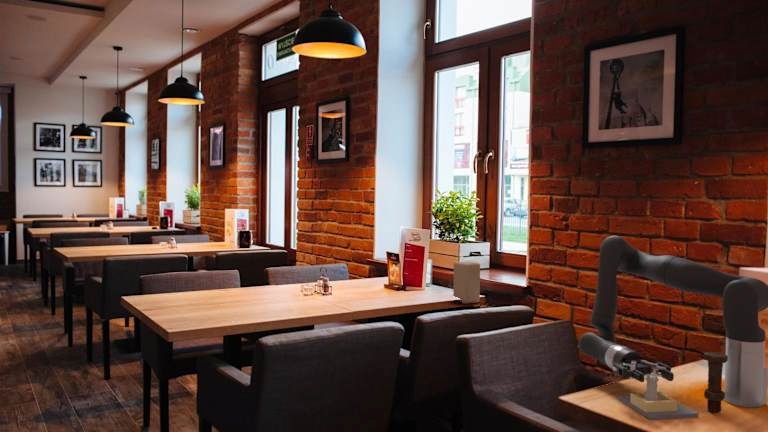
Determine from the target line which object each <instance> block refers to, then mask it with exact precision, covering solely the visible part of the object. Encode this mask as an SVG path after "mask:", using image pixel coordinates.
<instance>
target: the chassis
mask: <svg viewBox="0 0 768 432" xmlns="http://www.w3.org/2000/svg"><path fill="white" fill-rule="evenodd" d="M629 394H630V395H622V396H621V395H619V397H618V400H619V401H620V402H622V403H623V404H625V405H626V406H628V407H629V408H631V409H633V410H634V411H635V412H637V413H639V414H641V415H642V416H644V417H645V418H646V419H649V420H650V421H651V420H664V419H665V420H668V419H669V420H671V419H686V418H687V419H688V418H699V413H698V412H696V411H695V410H693V409H691V408H690V407H687V406H685V405H683V404H682V403H680V402H678V401H677V400H676V399H675V398H672V397H671V396H669V395H666V394H665V393H663V392H661V391H657V395H658V397H659V399H660V401H647V400H645V399H643V398H644V397H645V396H644V395H645V394H643V395H638V394H636V393H634V392H630V393H629Z"/></svg>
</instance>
